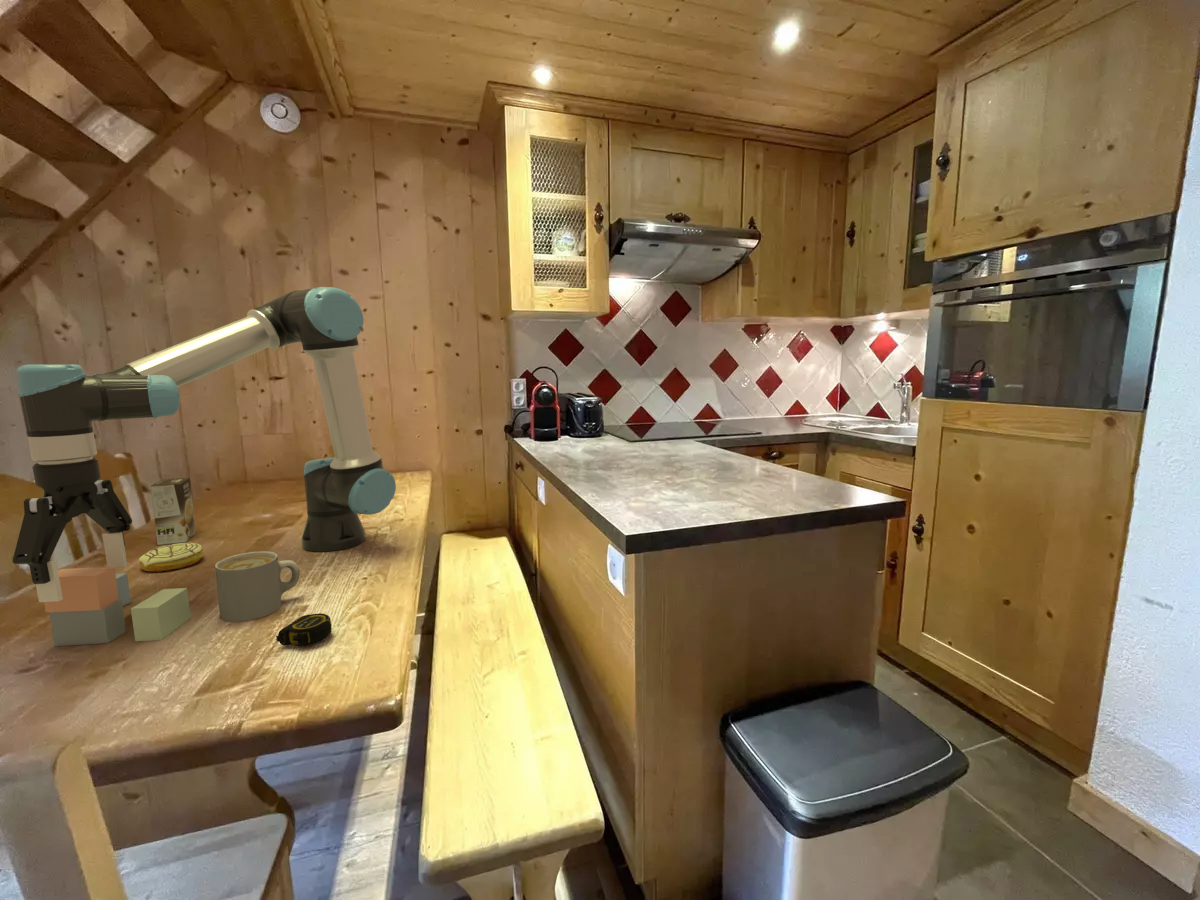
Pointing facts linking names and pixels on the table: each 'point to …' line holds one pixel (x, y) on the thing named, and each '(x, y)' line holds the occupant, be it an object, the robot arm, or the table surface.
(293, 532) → the table surface
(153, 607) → the brick sage
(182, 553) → the decorated donut
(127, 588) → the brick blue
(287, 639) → the tape measure
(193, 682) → the table surface
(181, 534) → the coffee box
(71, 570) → the brick terracotta
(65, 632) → the brick slate
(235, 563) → the coffee mug
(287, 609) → the table surface
